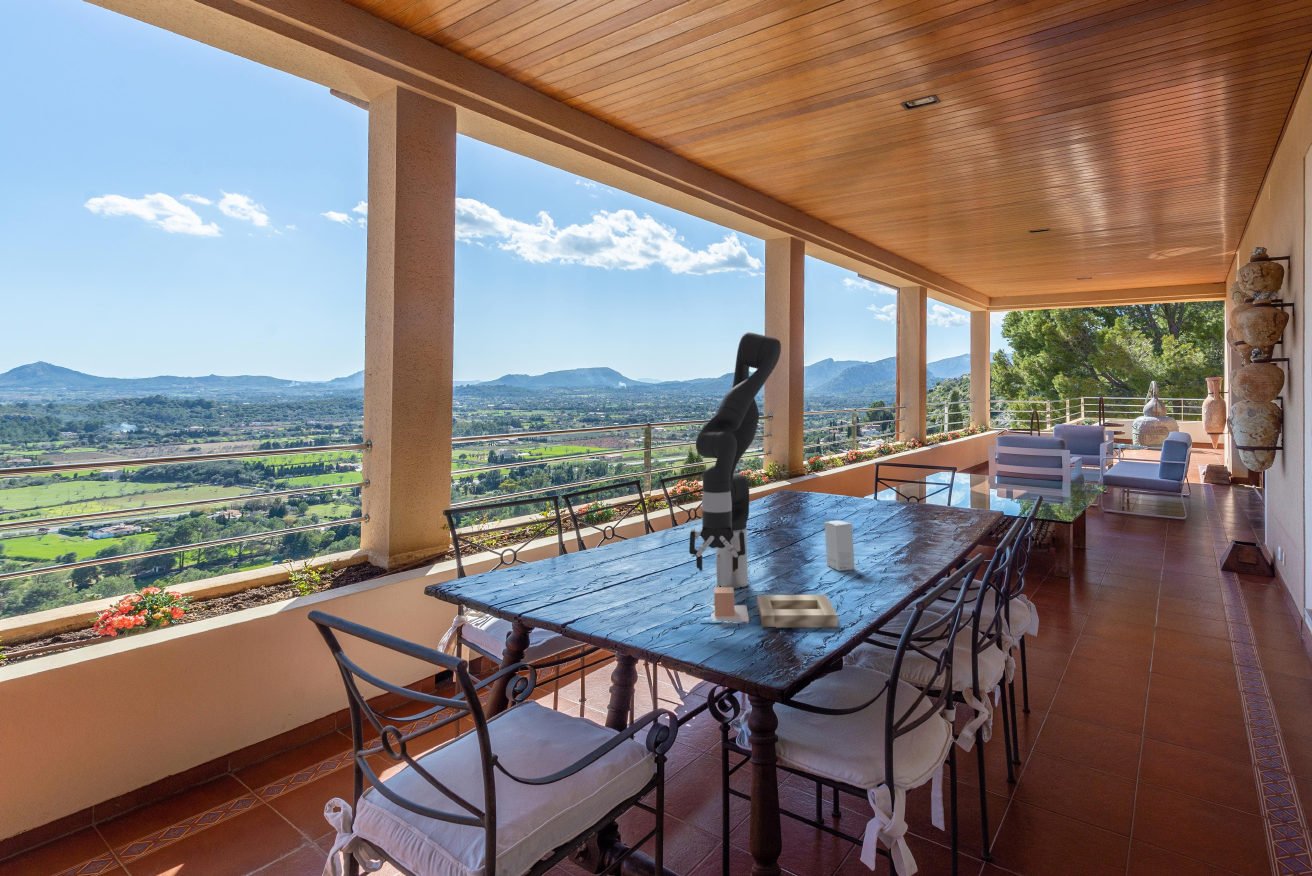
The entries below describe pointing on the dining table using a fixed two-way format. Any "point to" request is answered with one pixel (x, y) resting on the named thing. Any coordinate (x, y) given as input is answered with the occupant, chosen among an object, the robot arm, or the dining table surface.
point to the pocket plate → (796, 611)
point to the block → (724, 601)
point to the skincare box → (839, 545)
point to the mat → (740, 616)
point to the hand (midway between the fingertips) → (717, 570)
